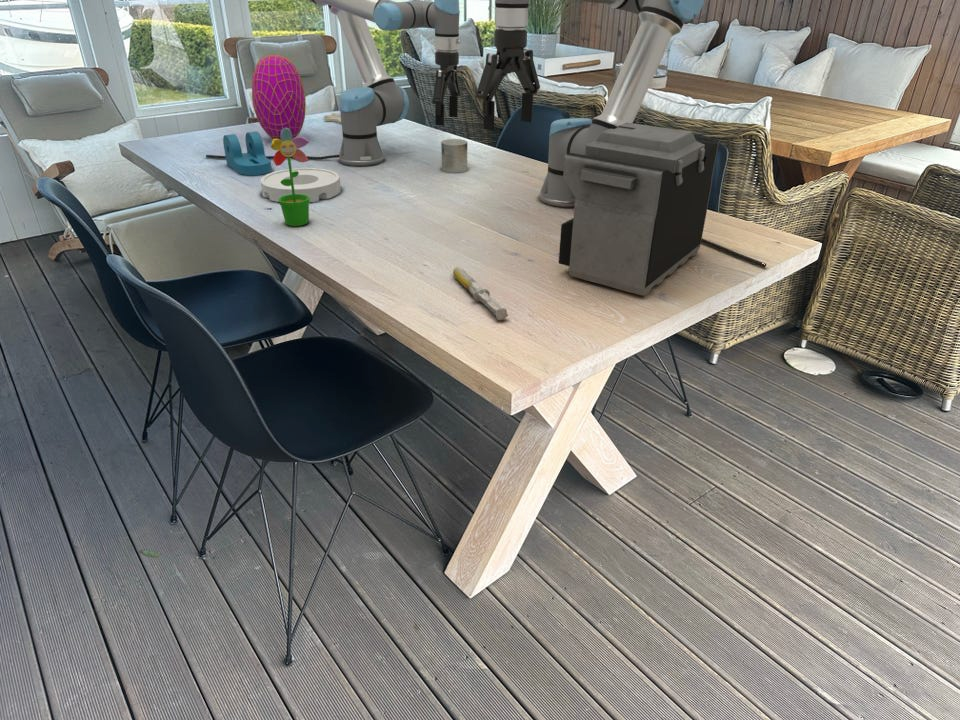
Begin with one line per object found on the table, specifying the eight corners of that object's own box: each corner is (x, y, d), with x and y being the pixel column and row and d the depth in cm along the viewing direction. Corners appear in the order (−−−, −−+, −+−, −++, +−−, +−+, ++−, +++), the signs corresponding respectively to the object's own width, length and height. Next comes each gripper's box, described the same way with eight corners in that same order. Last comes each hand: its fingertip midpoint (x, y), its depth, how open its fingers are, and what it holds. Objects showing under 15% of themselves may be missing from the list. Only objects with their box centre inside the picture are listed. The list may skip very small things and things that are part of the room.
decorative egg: (293, 132, 276) (283, 50, 261) (319, 140, 264) (310, 56, 249) (249, 139, 265) (236, 54, 250) (273, 148, 253) (261, 60, 238)
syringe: (449, 274, 155) (449, 263, 153) (465, 272, 156) (464, 260, 154) (490, 323, 135) (491, 310, 133) (508, 319, 136) (508, 307, 134)
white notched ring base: (275, 179, 218) (273, 167, 216) (347, 181, 217) (346, 168, 215) (251, 202, 198) (249, 188, 196) (331, 204, 197) (330, 190, 195)
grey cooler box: (622, 232, 180) (636, 112, 165) (704, 251, 169) (728, 124, 154) (550, 277, 154) (560, 140, 139) (641, 302, 143) (663, 157, 128)
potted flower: (284, 229, 179) (270, 130, 166) (277, 220, 185) (263, 124, 172) (319, 224, 183) (308, 127, 170) (311, 215, 188) (300, 121, 176)
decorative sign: (315, 115, 300) (335, 113, 305) (315, 118, 300) (335, 115, 306) (347, 125, 283) (368, 122, 288) (347, 128, 283) (368, 125, 289)
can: (468, 166, 235) (468, 139, 230) (465, 173, 227) (465, 145, 223) (443, 165, 236) (443, 138, 231) (439, 172, 228) (439, 144, 224)
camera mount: (227, 164, 233) (221, 132, 227) (257, 160, 238) (252, 129, 233) (244, 176, 220) (239, 143, 215) (276, 172, 225) (271, 139, 220)
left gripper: (445, 56, 205) (445, 129, 216) (470, 47, 225) (469, 114, 236) (421, 55, 206) (422, 127, 217) (448, 45, 227) (448, 112, 238)
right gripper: (533, 24, 166) (529, 115, 176) (460, 30, 150) (460, 130, 161) (558, 26, 161) (552, 120, 172) (485, 33, 146) (483, 135, 156)
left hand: (446, 120), depth 227 cm, fingers open, 13 cm apart
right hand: (507, 125), depth 166 cm, fingers open, 13 cm apart
